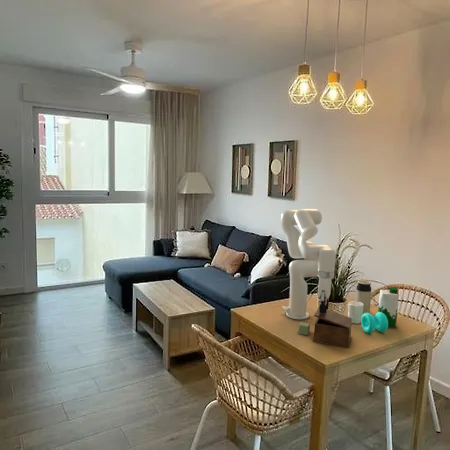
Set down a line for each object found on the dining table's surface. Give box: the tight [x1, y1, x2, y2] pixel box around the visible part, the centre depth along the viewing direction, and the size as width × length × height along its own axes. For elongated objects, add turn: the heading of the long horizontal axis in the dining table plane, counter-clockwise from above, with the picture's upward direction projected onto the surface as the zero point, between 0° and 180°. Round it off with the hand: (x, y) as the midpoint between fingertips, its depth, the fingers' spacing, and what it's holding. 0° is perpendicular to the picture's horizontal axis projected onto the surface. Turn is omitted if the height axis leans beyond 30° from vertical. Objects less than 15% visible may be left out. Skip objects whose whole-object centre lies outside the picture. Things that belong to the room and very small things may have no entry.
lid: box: [313, 302, 352, 329], centre depth 184 cm, size 16×13×6 cm
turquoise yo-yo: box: [360, 311, 389, 334], centre depth 195 cm, size 10×10×10 cm
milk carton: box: [377, 287, 400, 329], centre depth 204 cm, size 9×9×20 cm
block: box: [298, 321, 311, 336], centre depth 193 cm, size 4×4×4 cm
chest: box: [313, 317, 353, 348], centre depth 185 cm, size 16×13×9 cm
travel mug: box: [355, 279, 372, 315], centre depth 223 cm, size 8×8×18 cm
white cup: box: [347, 300, 364, 325], centre depth 209 cm, size 8×8×10 cm
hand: (323, 310), depth 186 cm, fingers closed on lid, 5 cm apart
